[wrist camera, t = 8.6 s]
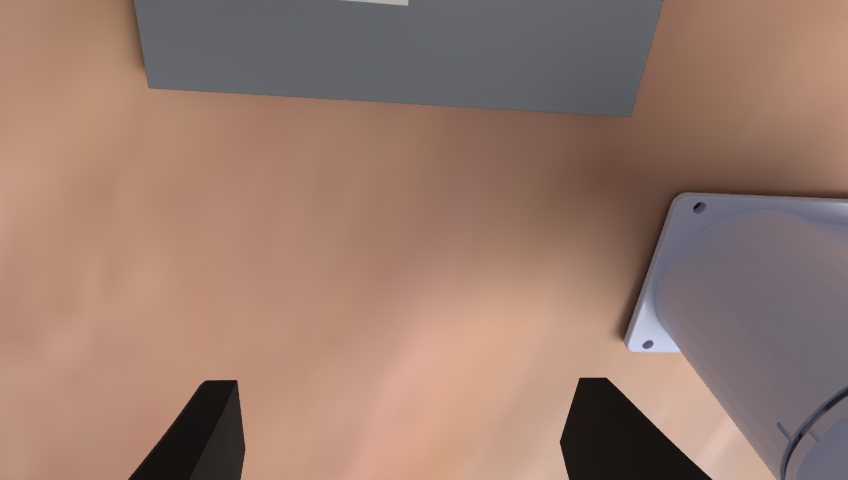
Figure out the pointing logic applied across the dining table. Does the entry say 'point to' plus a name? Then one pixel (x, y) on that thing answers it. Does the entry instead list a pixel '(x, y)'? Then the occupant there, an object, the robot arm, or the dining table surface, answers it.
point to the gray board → (406, 50)
